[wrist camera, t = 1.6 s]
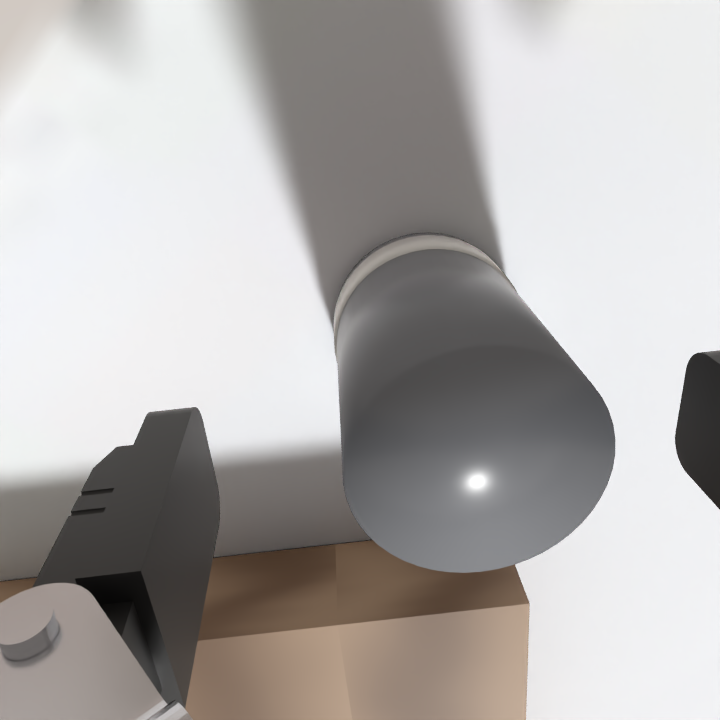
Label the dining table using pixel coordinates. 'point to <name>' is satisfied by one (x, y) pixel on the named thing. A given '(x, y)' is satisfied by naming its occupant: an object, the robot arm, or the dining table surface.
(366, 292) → the connector plug
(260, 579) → the end holder
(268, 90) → the dining table surface
